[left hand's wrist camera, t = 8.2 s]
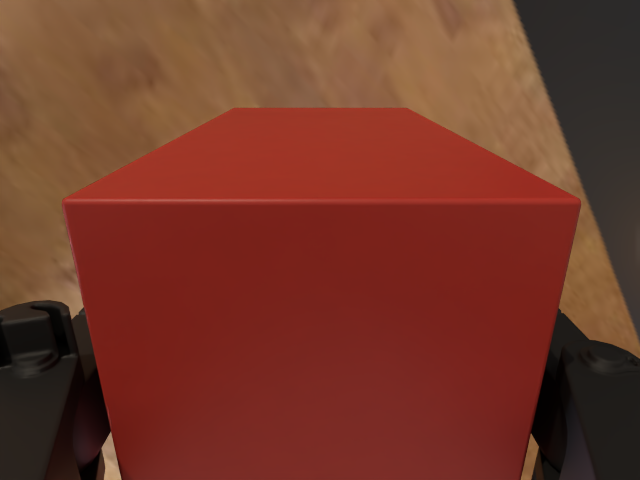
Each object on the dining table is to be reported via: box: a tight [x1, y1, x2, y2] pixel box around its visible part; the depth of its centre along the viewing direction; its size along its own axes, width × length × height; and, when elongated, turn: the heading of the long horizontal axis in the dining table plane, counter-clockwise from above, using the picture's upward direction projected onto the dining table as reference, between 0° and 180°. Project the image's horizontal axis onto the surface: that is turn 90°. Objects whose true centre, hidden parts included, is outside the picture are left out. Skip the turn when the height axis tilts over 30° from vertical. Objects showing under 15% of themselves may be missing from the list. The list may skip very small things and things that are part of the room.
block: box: [62, 108, 581, 480], centre depth 12 cm, size 6×8×11 cm
